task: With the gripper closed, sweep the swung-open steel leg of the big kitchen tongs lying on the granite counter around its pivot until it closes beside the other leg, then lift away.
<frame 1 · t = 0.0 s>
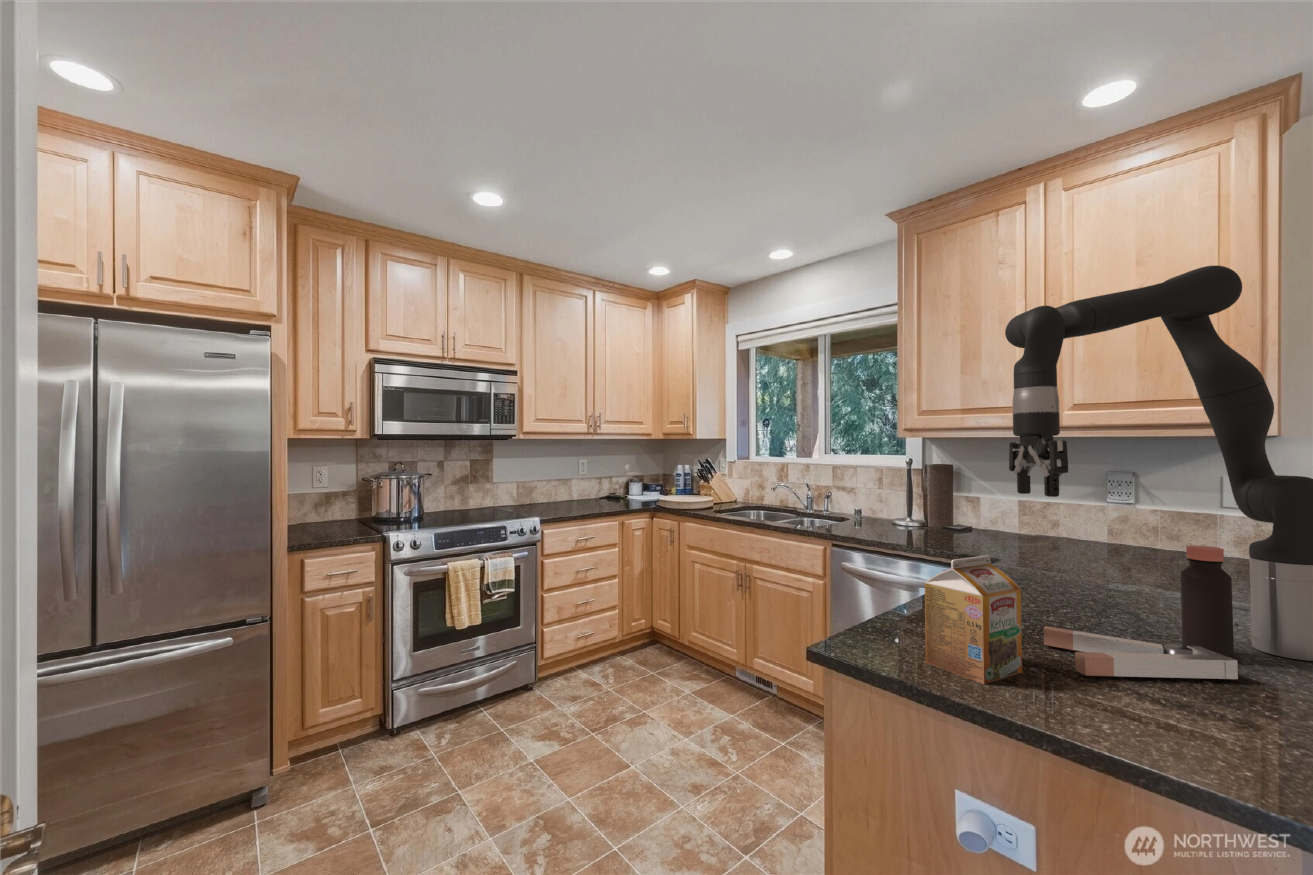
hand: (1037, 495, 107), 29 cm above the counter, tool pointing down, fingers open, 8 cm apart
bottle: (1207, 657, 102), on the counter
milk carton: (972, 668, 96), on the counter
tongs fixed leg: (1178, 669, 96), on the counter
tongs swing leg: (1113, 646, 101), point 2 cm above the counter, hinge at -35.0°
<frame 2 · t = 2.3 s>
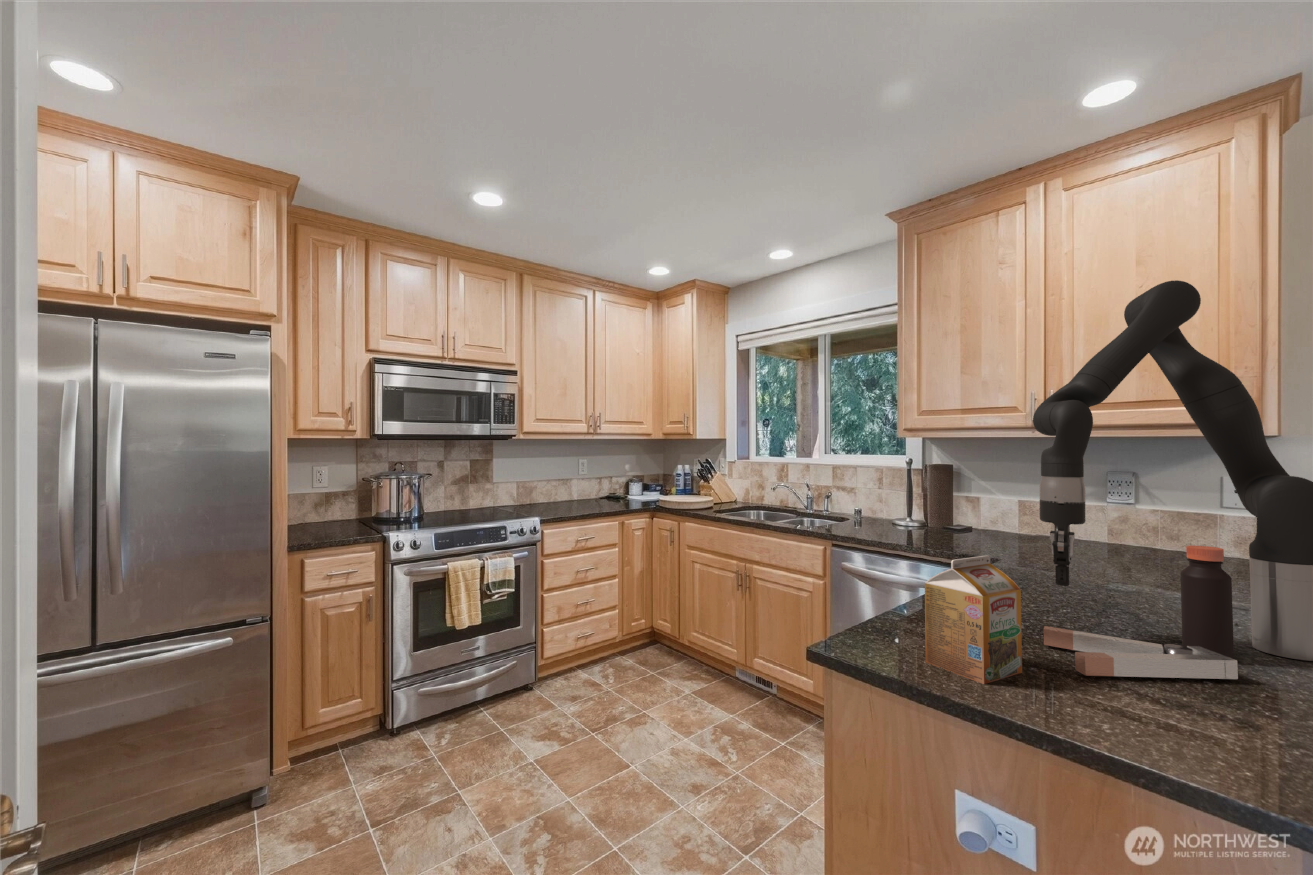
hand: (1062, 584, 112), 11 cm above the counter, tool pointing down, fingers closed
nothing on the counter moved.
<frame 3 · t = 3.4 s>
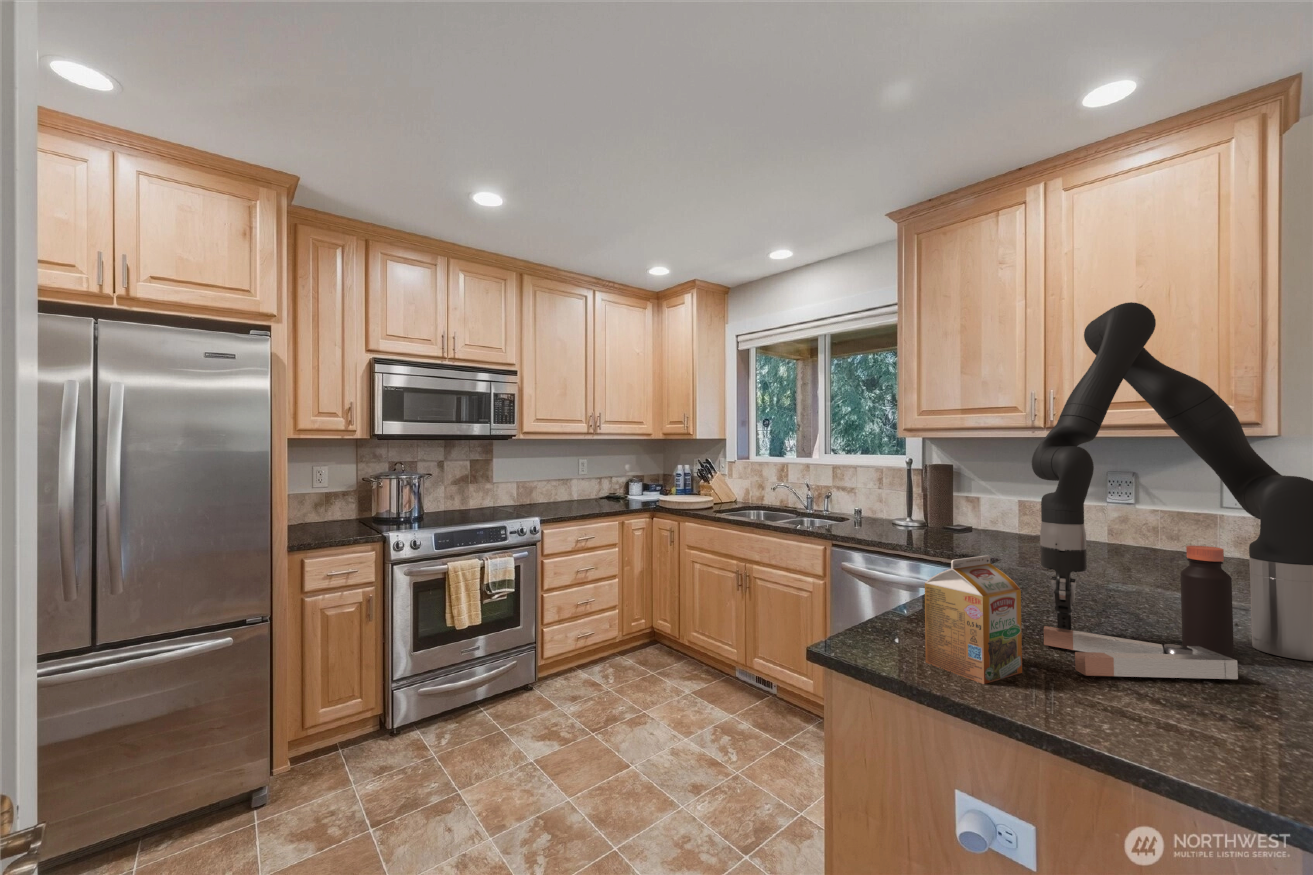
hand: (1064, 631, 111), 2 cm above the counter, tool pointing down, fingers closed
nothing on the counter moved.
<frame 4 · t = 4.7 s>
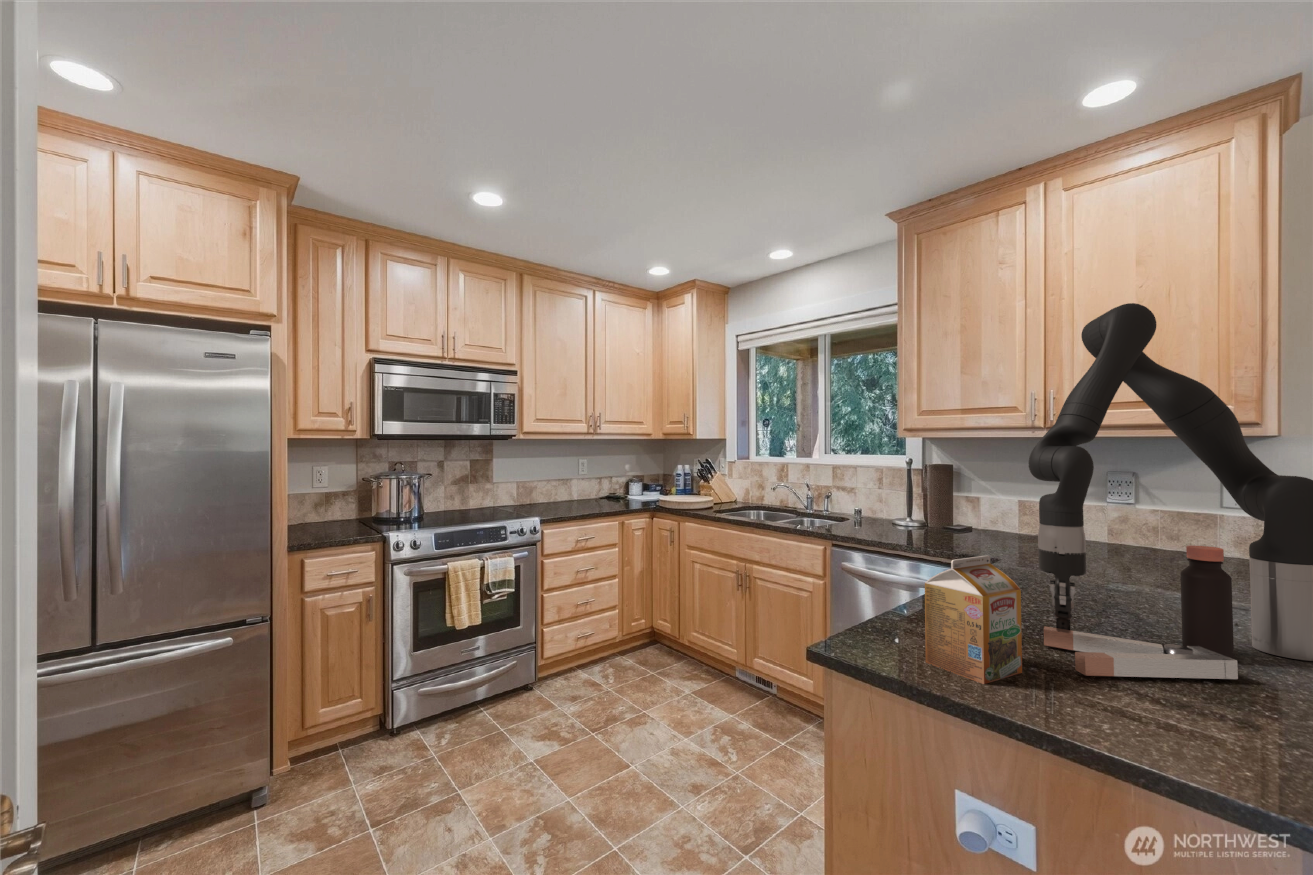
hand: (1063, 637, 108), 2 cm above the counter, tool pointing down, fingers closed
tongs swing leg: (1113, 646, 101), point 2 cm above the counter, hinge at -34.2°, touching gripper
everything else where it was.
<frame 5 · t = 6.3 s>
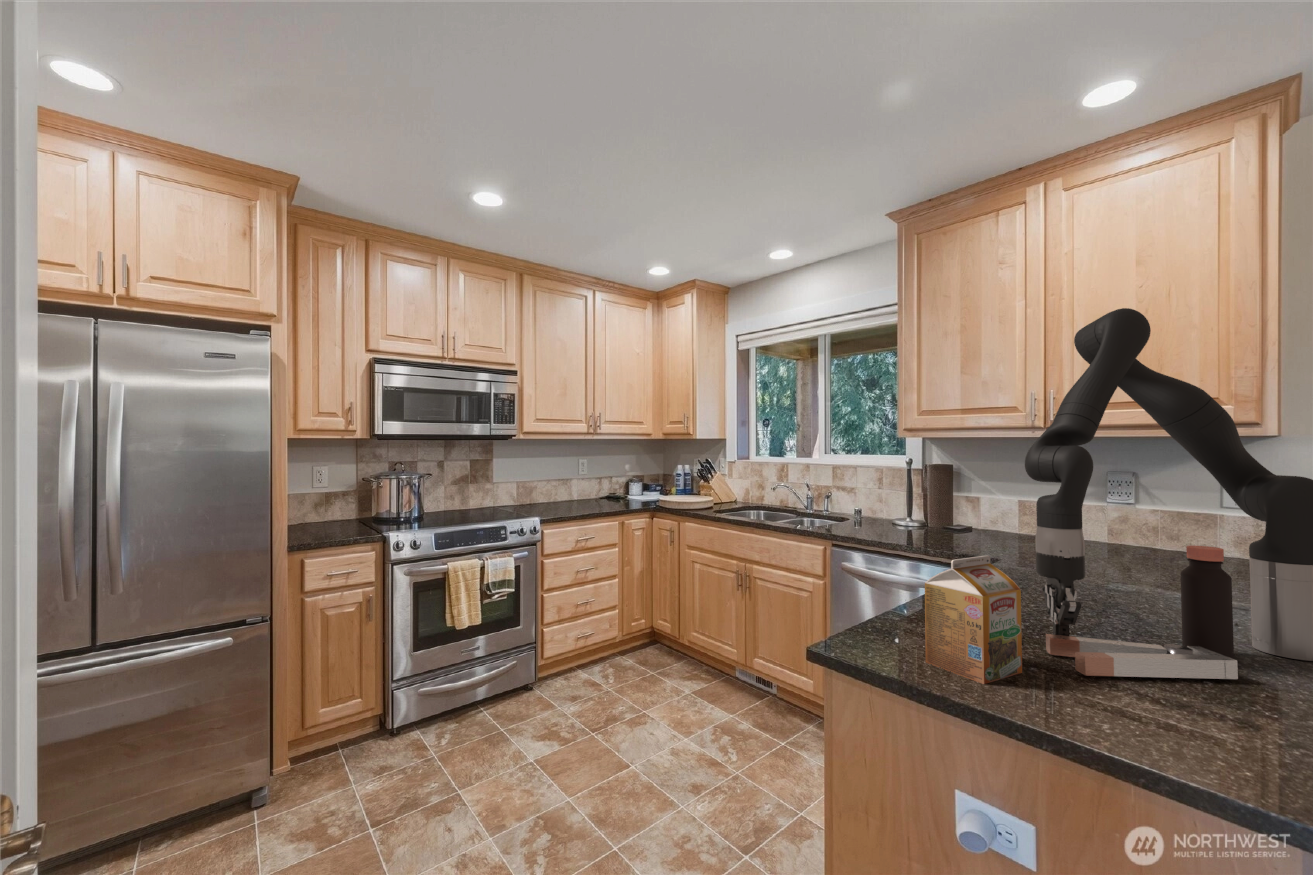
hand: (1061, 643, 104), 2 cm above the counter, tool pointing down, fingers closed
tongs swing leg: (1117, 651, 99), point 2 cm above the counter, hinge at -17.6°, touching gripper
everything else where it was.
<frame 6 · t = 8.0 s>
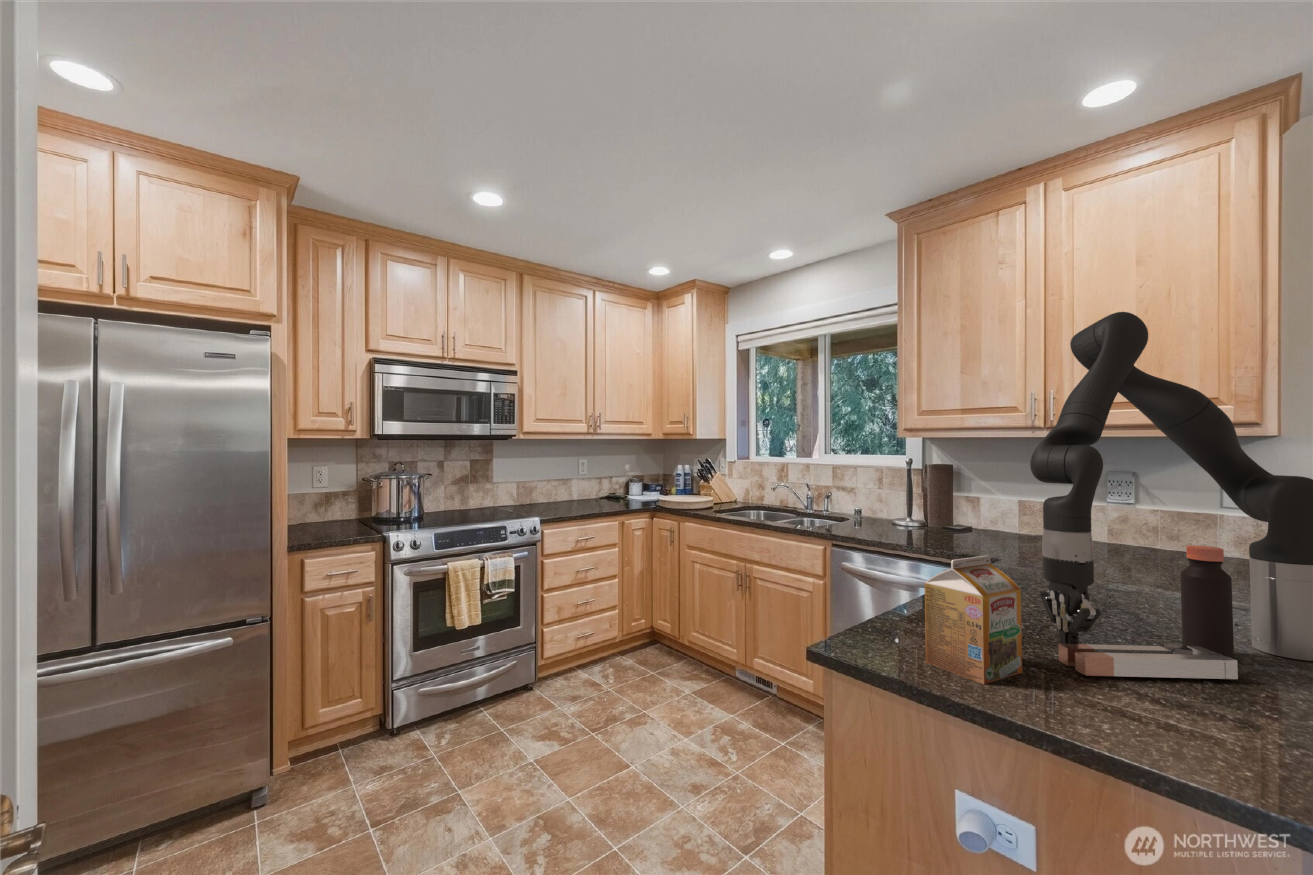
hand: (1069, 651, 100), 2 cm above the counter, tool pointing down, fingers closed
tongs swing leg: (1125, 656, 96), point 2 cm above the counter, hinge at -0.7°, touching gripper
everything else where it was.
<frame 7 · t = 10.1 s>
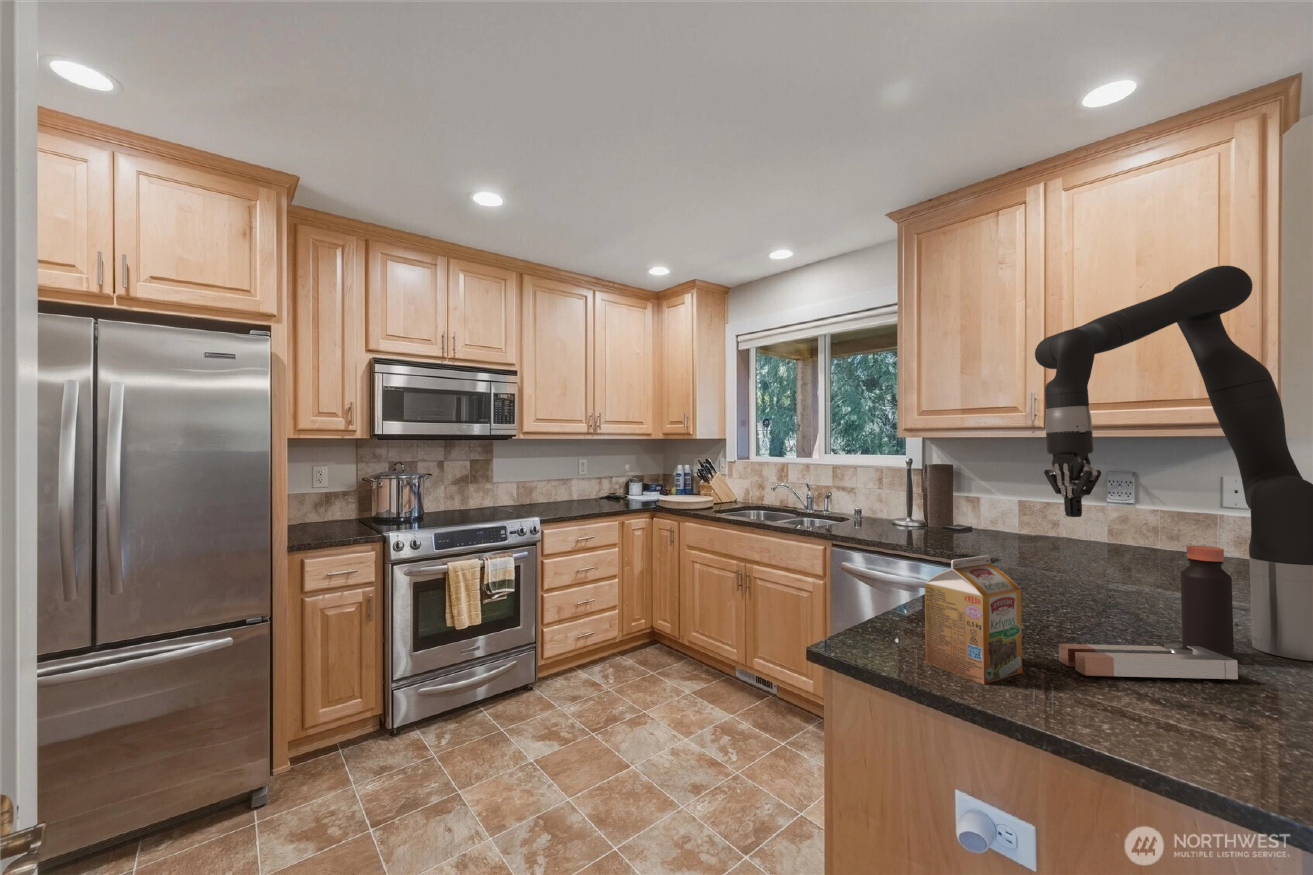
hand: (1073, 516, 111), 25 cm above the counter, tool pointing down, fingers closed
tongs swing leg: (1126, 656, 96), point 2 cm above the counter, hinge at -0.4°
everything else where it was.
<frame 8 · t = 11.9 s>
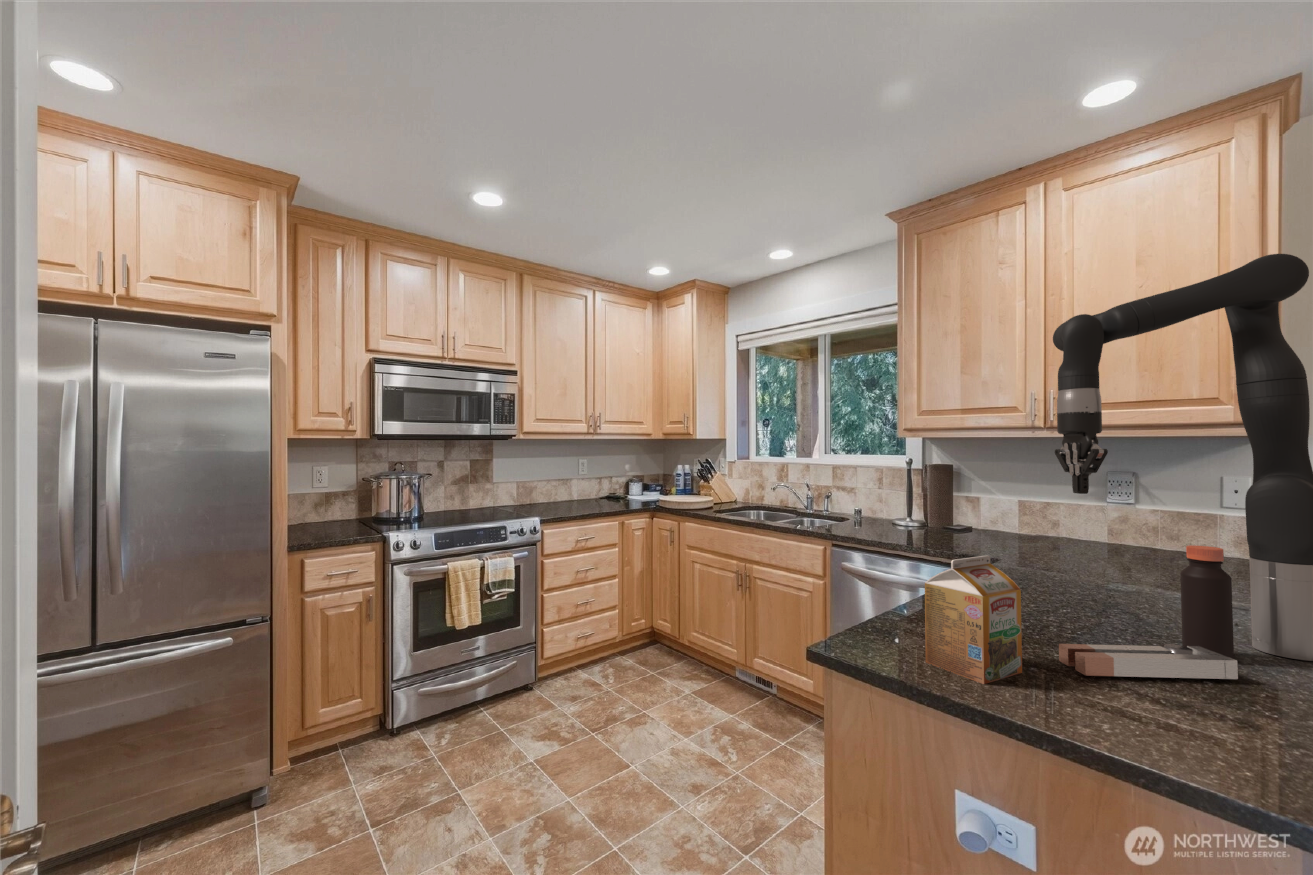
hand: (1080, 493, 117), 29 cm above the counter, tool pointing down, fingers closed
nothing on the counter moved.
at the end: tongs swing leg at +0° (first picture: -35°) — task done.
